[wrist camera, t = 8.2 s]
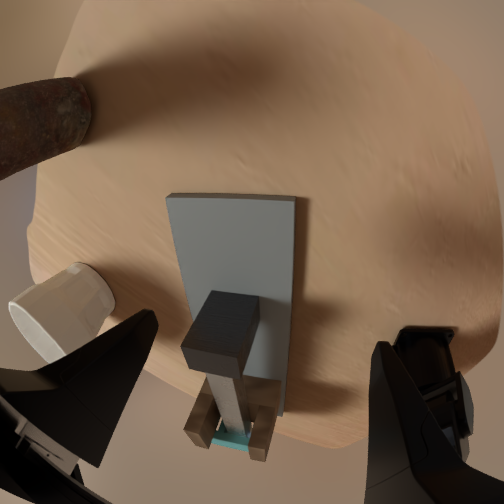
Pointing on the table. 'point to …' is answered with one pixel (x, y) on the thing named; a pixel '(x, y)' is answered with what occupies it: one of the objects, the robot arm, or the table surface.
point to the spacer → (230, 439)
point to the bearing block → (260, 409)
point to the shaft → (225, 352)
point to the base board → (241, 264)
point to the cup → (63, 311)
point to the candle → (41, 121)
